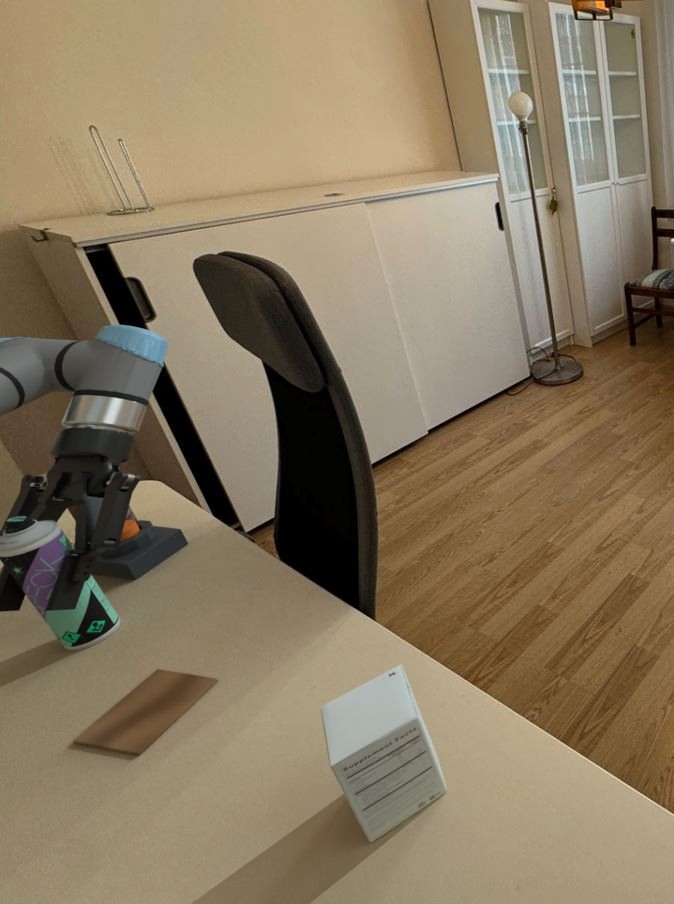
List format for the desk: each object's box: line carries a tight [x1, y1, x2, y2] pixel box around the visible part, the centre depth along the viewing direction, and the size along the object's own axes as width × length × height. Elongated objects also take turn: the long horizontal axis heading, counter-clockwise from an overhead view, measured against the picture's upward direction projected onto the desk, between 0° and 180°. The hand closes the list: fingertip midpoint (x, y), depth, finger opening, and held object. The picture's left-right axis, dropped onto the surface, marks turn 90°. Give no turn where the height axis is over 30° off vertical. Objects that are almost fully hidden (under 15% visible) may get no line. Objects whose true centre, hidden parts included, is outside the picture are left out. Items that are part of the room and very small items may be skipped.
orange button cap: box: [106, 520, 140, 542], centre depth 87 cm, size 4×4×2 cm
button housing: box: [91, 519, 189, 581], centre depth 89 cm, size 10×8×5 cm
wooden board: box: [72, 668, 219, 756], centre depth 66 cm, size 9×9×1 cm
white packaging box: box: [320, 664, 448, 844], centre depth 55 cm, size 7×7×13 cm
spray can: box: [0, 515, 122, 652], centre depth 72 cm, size 6×6×20 cm
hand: (32, 610), depth 70 cm, fingers open, 6 cm apart
